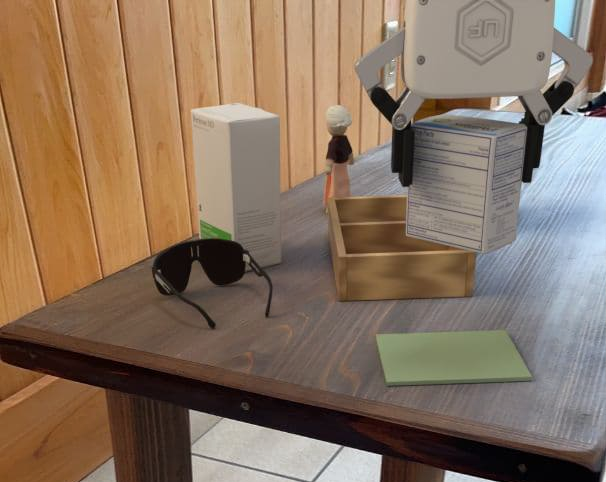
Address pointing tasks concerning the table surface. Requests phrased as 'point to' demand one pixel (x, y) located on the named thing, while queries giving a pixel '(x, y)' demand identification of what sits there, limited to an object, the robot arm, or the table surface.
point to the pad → (450, 358)
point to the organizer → (391, 254)
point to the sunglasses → (204, 267)
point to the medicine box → (466, 182)
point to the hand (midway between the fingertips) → (463, 180)
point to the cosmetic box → (239, 178)
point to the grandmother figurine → (337, 154)
